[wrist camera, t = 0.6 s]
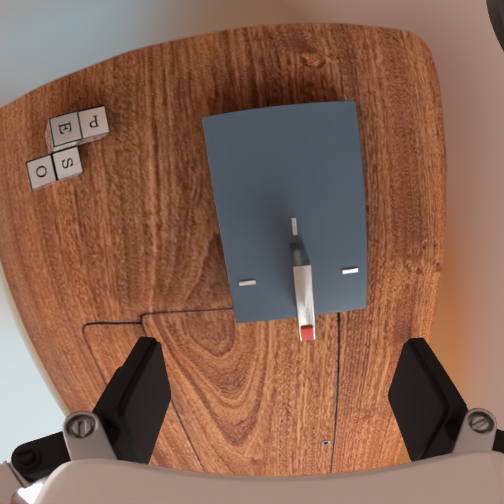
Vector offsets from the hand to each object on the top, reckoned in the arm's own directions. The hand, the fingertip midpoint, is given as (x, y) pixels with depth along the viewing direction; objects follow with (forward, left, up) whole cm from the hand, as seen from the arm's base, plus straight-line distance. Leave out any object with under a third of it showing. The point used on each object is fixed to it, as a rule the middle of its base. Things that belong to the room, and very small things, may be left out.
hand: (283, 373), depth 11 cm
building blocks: (-1, -21, -19) cm, 28 cm away
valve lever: (+2, +3, -15) cm, 16 cm away
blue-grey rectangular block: (-3, 0, -18) cm, 19 cm away
